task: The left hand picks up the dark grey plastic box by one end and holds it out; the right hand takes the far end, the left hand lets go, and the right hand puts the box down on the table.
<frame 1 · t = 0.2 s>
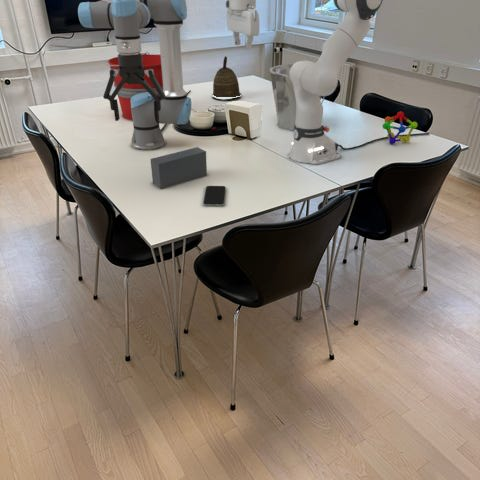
left hand: (137, 120, 151), 27 cm above the table, tool pointing down, fingers open, 13 cm apart
right hand: (242, 46, 160), 47 cm above the table, tool pointing down, fingers open, 8 cm apart
box: (180, 179, 174), on the table
smartphone: (214, 196, 161), on the table
bell: (226, 97, 281), on the table
bucket 2: (145, 114, 248), on the table
bucket: (295, 125, 233), on the table
educational toy: (395, 143, 211), on the table
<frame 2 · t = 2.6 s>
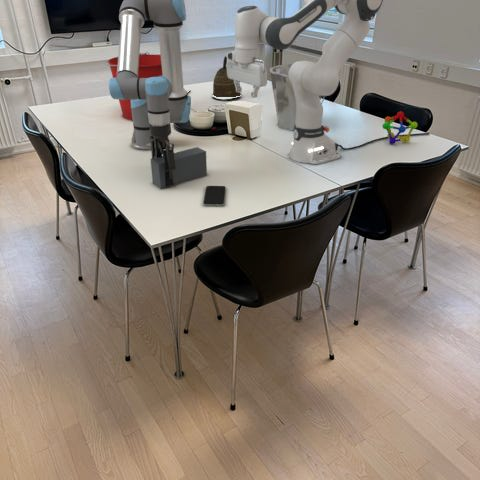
left hand: (165, 182, 170), 1 cm above the table, tool pointing down, fingers closed on box, 6 cm apart
right hand: (246, 94, 169), 30 cm above the table, tool pointing down, fingers open, 8 cm apart
box: (180, 179, 174), on the table, touching left hand
everything else where it was.
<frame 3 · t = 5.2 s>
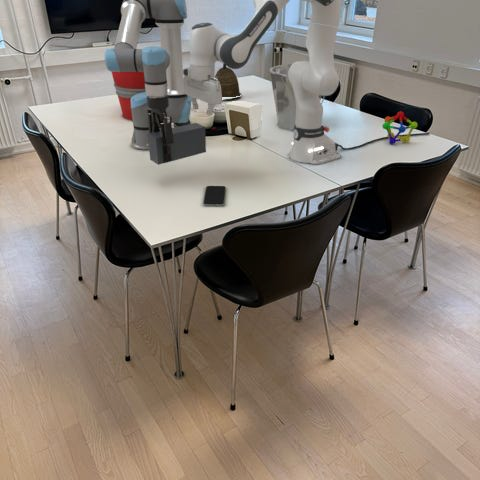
left hand: (163, 158, 165), 10 cm above the table, tool pointing down, fingers closed on box, 6 cm apart
right hand: (202, 111, 166), 25 cm above the table, tool pointing down, fingers open, 8 cm apart
box: (178, 155, 169), point 10 cm above the table, touching left hand
everything else where it was.
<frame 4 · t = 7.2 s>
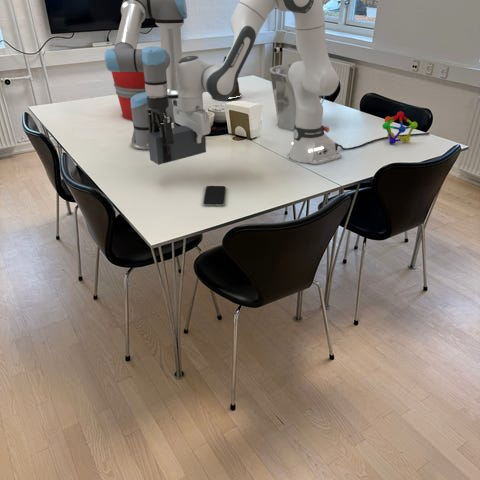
left hand: (163, 158, 165), 10 cm above the table, tool pointing down, fingers closed on box, 6 cm apart
right hand: (192, 140, 170), 15 cm above the table, tool pointing down, fingers closed on box, 6 cm apart
box: (178, 155, 169), point 10 cm above the table, touching left hand, right hand
everything else where it was.
when the left hand's fingers open (10 cm above the table, at t = 8.1 s): box stays where it is, held by the right hand.
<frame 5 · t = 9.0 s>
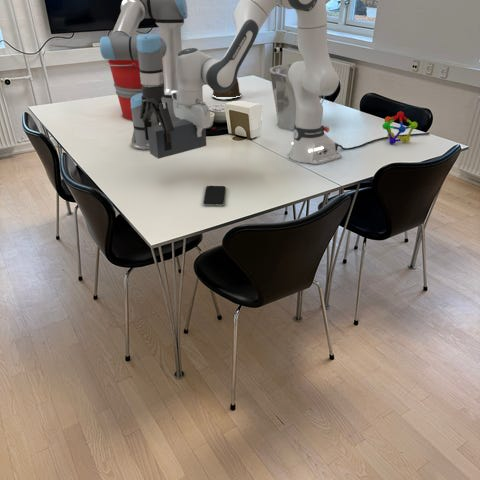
left hand: (158, 144, 162), 16 cm above the table, tool pointing down, fingers open, 13 cm apart
right hand: (193, 133, 169), 17 cm above the table, tool pointing down, fingers closed on box, 6 cm apart
box: (178, 149, 168), point 12 cm above the table, touching right hand
everything else where it was.
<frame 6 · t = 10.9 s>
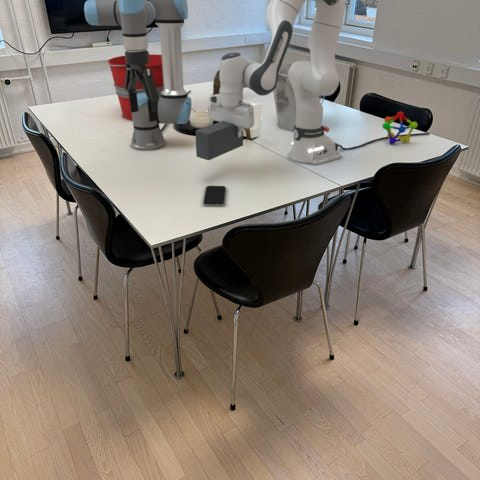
left hand: (143, 116, 153), 27 cm above the table, tool pointing down, fingers open, 13 cm apart
right hand: (231, 134, 175), 15 cm above the table, tool pointing down, fingers closed on box, 6 cm apart
box: (220, 150, 173), point 10 cm above the table, touching right hand
everything else where it was.
when the right hand's fingers open (6 cm above the table, at t = 12.4 s): box stays where it is, on the table.
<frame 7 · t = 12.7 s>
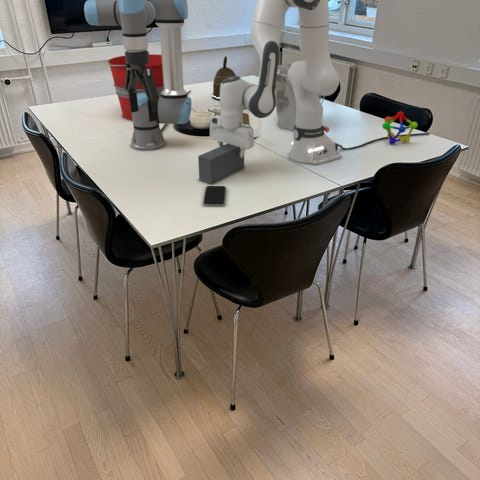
left hand: (143, 116, 153), 27 cm above the table, tool pointing down, fingers open, 13 cm apart
right hand: (231, 154, 180), 6 cm above the table, tool pointing down, fingers open, 8 cm apart
box: (222, 173, 179), on the table
everything else where it was.
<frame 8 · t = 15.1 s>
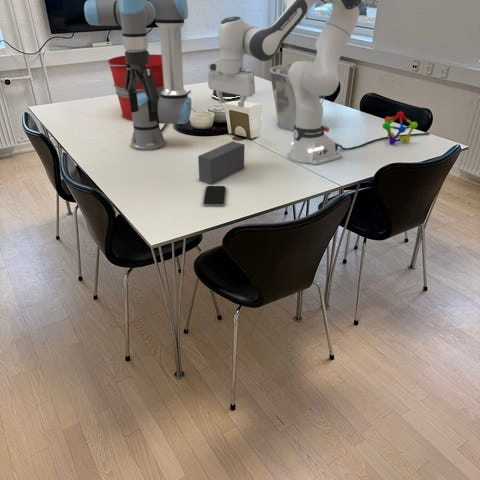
left hand: (143, 116, 153), 27 cm above the table, tool pointing down, fingers open, 13 cm apart
right hand: (231, 104, 169), 26 cm above the table, tool pointing down, fingers open, 8 cm apart
nothing on the table moved.
at the end: box inside the target area (6.0 cm from its centre), on the table; the left hand is holding nothing; the right hand is holding nothing; box at rest at the end (0.0 cm/s) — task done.
